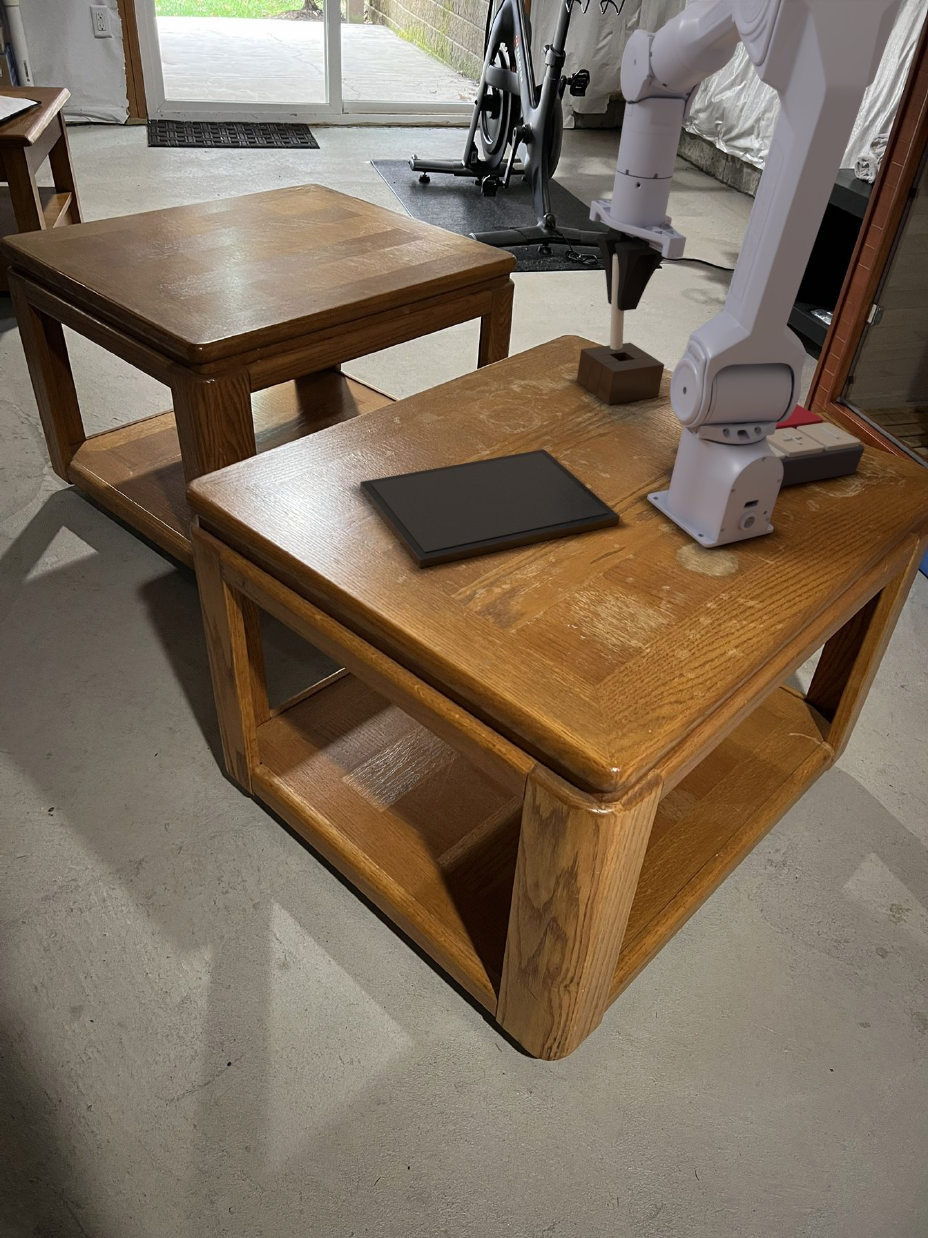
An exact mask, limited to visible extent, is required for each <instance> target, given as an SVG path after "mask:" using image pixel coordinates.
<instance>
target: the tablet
mask: <svg viewBox="0 0 928 1238" xmlns="http://www.w3.org/2000/svg"><path fill="white" fill-rule="evenodd" d="M359 488H360V489H359V490H360V492H361V493H362V494H363V496H364V497H365V498H366V499H367V501H368V502H369V504H370V505H371V506H372V507H373V509H374V510H375V511H376V513H377V514H378V515H379V516H380V518H381V519H382V521H383V522H384V523H385V524H386V526H387V527H388V528H389V530H390V531H391V532H392V534H393V535H394V536H395V537H396V540H397V541H399V543H400V544H401V545H402V547H403V548H404V550H405V551H406V552H407V553H408V555H409V556H410V557H411V559H412V560H413V561H414V563H415V564H416V565H417V566H418V568H419V569H424V568H427V567H433V566H436V565H442V564H446V563H451V562H455V561H459V560H463V559H464V560H465V559H468V558H473V557H479V556H481V555H486V554H490V553H496V552H500V551H505V550H510V549H514V548H518V547H523V546H528V545H533V544H537V543H541V542H546V541H550V540H554V539H559V538H563V537H567V536H572V535H577V534H581V533H586V532H591V531H596V530H599V529H604V528H608V527H613V526H617V525H619V522H620V518H621V517H620V515H619V514H618V513H617V512H615V510H613V509H612V508H611V507H610V506H609V505H608V504H606V503H605V502H604V501H603V500H602V499H601V498H599V497H598V496H597V494H595V492H593V491H592V490H591V489H590V488H589V487H587V486H586V485H585V484H584V483H583V482H582V481H581V480H580V479H578V478H577V477H576V476H575V475H574V474H573V473H572V472H571V471H569V470H568V468H566V467H565V466H564V465H563V464H562V463H560V462H559V460H557V459H556V458H555V457H553V455H551V454H550V452H548V451H547V450H545V448H544V449H537V450H532V451H526V452H521V453H515V454H510V455H503V456H498V457H492V458H487V459H481V460H476V461H470V462H464V463H459V464H452V465H448V466H442V467H437V468H430V469H425V470H419V471H413V472H408V473H402V474H397V475H391V476H385V477H378V478H375V479H369V480H362V481H360V482H359Z"/></svg>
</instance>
